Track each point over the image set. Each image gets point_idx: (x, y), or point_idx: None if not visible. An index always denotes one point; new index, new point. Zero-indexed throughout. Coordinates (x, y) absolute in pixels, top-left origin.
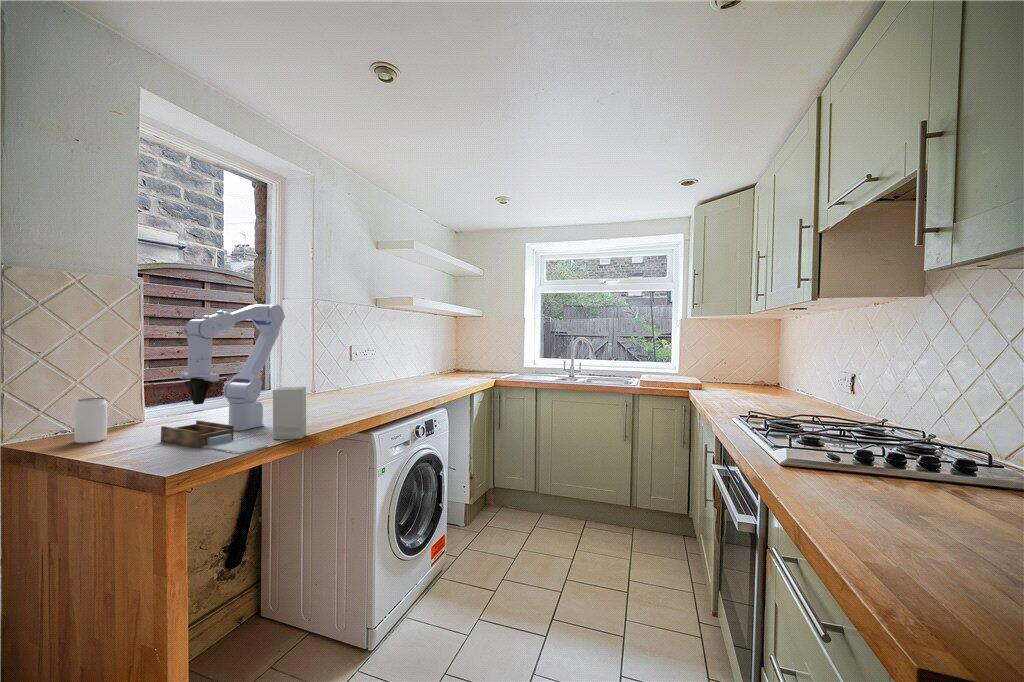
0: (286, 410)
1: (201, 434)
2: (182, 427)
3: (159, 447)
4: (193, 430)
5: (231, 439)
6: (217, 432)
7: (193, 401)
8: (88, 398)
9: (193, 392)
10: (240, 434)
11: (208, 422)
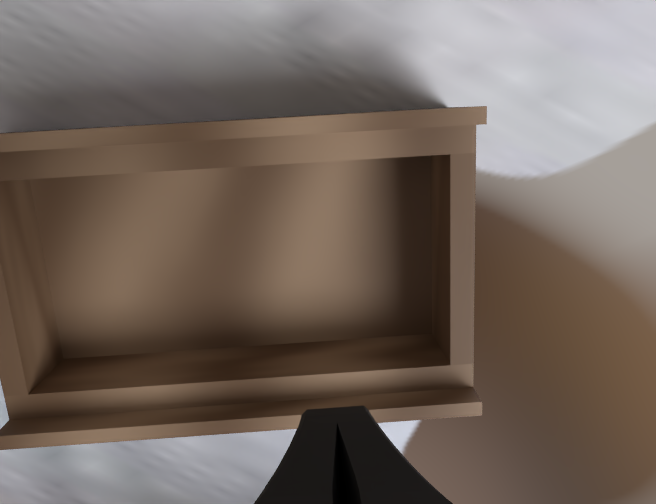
0: None
1: (351, 340)
2: (449, 268)
3: (265, 3)
4: (438, 336)
5: None
6: None
7: (354, 419)
8: None
9: (322, 499)
10: (196, 499)
11: None
